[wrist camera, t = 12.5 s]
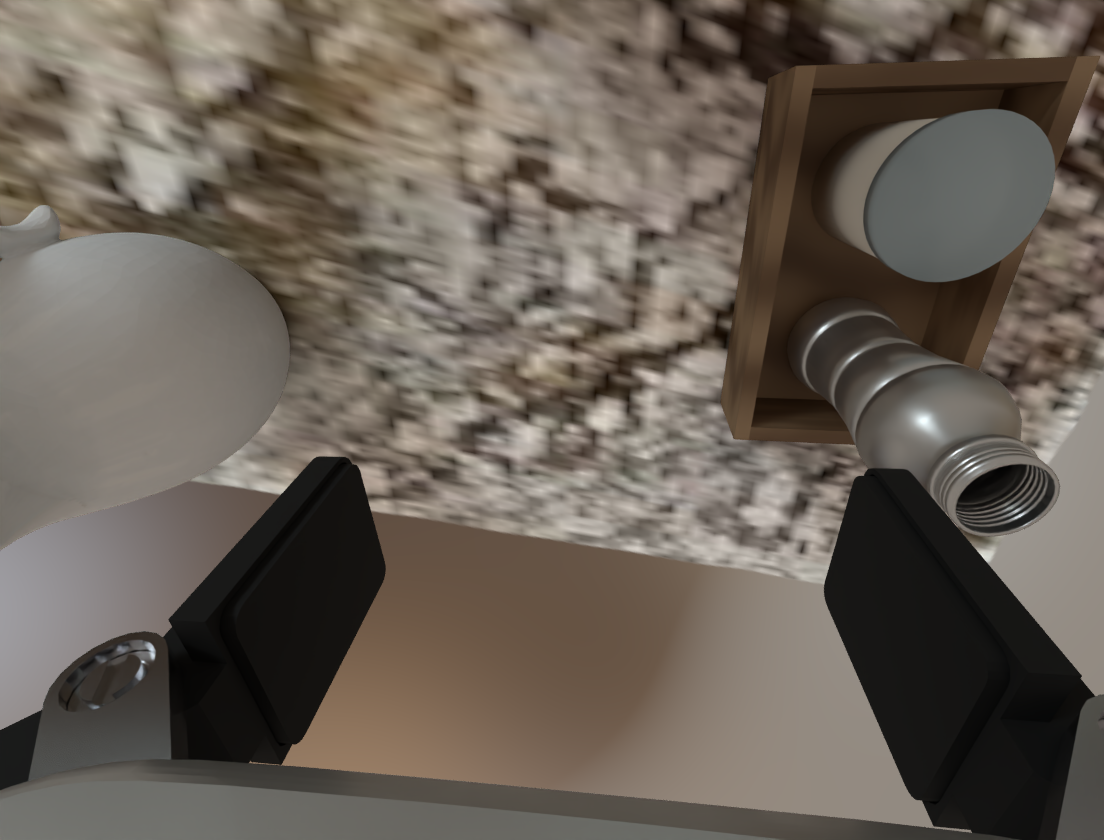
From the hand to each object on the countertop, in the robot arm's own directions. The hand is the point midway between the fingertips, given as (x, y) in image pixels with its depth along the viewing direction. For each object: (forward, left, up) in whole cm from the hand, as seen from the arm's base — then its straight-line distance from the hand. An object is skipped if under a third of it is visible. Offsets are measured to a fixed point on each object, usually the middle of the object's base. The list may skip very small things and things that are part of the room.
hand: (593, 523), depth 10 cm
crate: (+1, +16, -31) cm, 35 cm away
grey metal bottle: (+6, +15, -31) cm, 35 cm away
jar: (-4, +16, -30) cm, 34 cm away
